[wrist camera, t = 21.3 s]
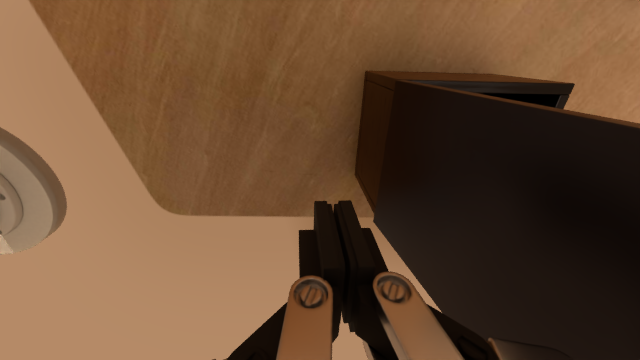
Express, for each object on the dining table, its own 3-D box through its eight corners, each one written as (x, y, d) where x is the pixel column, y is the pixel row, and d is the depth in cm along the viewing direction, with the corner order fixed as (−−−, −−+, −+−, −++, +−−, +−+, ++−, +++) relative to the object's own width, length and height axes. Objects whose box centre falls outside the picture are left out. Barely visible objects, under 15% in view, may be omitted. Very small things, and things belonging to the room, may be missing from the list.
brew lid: (872, 166, 4) (853, 170, 4) (558, 440, 10) (543, 447, 9) (405, 80, 17) (395, 79, 16) (381, 220, 22) (373, 221, 22)
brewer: (491, 74, 26) (575, 83, 18) (460, 173, 31) (514, 213, 24) (365, 70, 25) (398, 79, 17) (354, 174, 30) (375, 217, 22)
